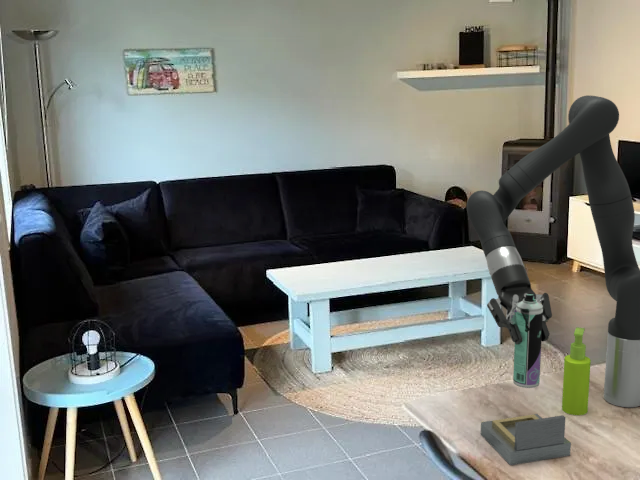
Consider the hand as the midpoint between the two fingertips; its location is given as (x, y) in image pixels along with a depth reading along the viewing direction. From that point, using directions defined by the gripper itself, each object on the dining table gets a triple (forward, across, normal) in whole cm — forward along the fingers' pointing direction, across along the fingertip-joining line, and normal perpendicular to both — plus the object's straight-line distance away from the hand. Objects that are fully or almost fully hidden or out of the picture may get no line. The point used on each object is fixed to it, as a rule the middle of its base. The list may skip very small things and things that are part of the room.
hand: (532, 341), depth 159 cm
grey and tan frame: (+16, 0, +19) cm, 25 cm away
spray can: (+6, 0, +9) cm, 11 cm away
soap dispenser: (+8, +20, +27) cm, 35 cm away
